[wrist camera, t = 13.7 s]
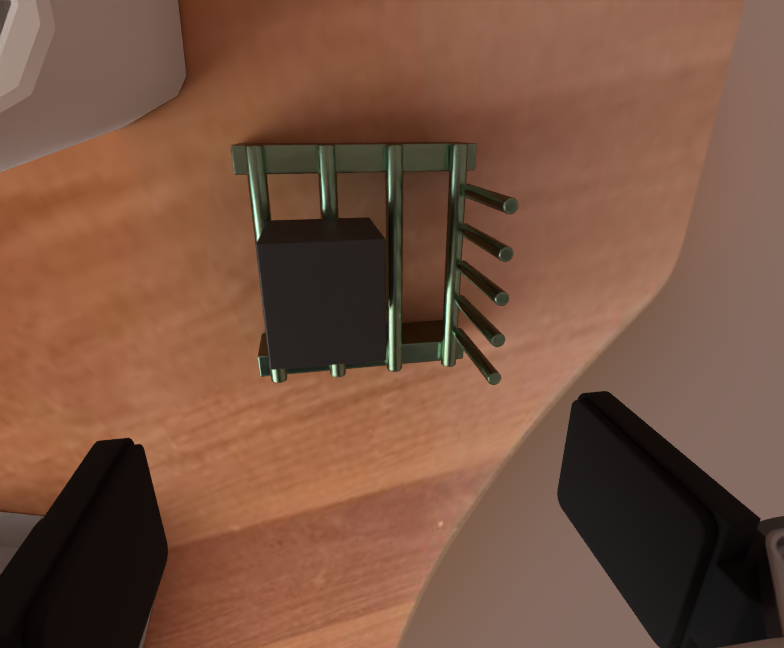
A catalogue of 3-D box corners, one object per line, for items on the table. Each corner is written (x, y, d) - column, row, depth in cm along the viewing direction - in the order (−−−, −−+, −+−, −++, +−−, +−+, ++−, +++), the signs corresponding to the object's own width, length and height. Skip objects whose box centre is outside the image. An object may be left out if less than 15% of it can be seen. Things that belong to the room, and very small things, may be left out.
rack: (457, 141, 24) (535, 147, 16) (447, 337, 28) (506, 417, 21) (238, 143, 22) (205, 150, 14) (263, 352, 27) (249, 447, 19)
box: (369, 216, 21) (385, 238, 17) (371, 319, 23) (386, 361, 19) (265, 220, 20) (255, 243, 16) (276, 325, 22) (270, 370, 18)
